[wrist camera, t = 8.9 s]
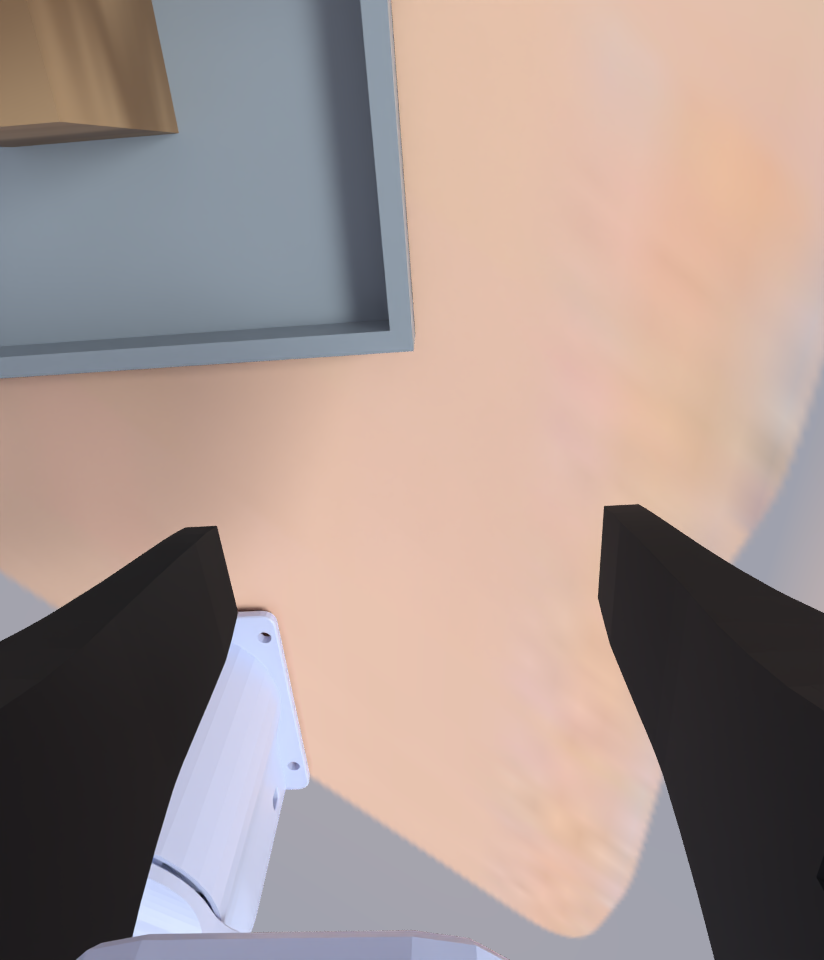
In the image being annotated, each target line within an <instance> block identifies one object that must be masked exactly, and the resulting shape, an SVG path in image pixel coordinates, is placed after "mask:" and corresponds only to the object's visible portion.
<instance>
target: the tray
mask: <svg viewBox="0 0 824 960" xmlns="http://www.w3.org/2000/svg"><path fill="white" fill-rule="evenodd" d="M152 5H153V10H154V15H155V19H156V24H157V29H158V34H159V39H160V44H161V49H162V53H163V58H164V63H165V68H166V73H167V78H168V82H169V87H170V92H171V97H172V102H173V107H174V112H175V116H176V121H177V126H178V131H179V133H175V134H163V135H151V136H140V137H128V138H116V139H104V140H92V141H80V142H68V143H57V144H45V145H33V146H21V147H0V378H13V377H28V376H43V375H59V374H74V373H89V372H104V371H119V370H134V369H149V368H164V367H179V366H195V365H210V364H225V363H240V362H255V361H270V360H285V359H300V358H315V357H331V356H346V355H361V354H376V353H391V352H406V351H414V341H415V324H414V310H413V296H412V282H411V268H410V255H409V241H408V227H407V213H406V200H405V186H404V172H403V158H402V145H401V131H400V117H399V103H398V90H397V76H396V62H395V48H394V35H393V21H392V7H391V0H152Z"/></svg>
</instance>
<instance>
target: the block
mask: <svg viewBox="0 0 824 960" xmlns="http://www.w3.org/2000/svg"><path fill="white" fill-rule="evenodd" d="M175 133H179V131H178V126H177V121H176V116H175V112H174V107H173V102H172V97H171V92H170V87H169V82H168V78H167V73H166V68H165V63H164V58H163V53H162V49H161V44H160V39H159V34H158V29H157V24H156V19H155V15H154V10H153V5H152V0H0V147H21V146H33V145H45V144H57V143H68V142H80V141H92V140H104V139H116V138H128V137H140V136H151V135H163V134H175Z"/></svg>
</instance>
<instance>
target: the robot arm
mask: <svg viewBox="0 0 824 960" xmlns="http://www.w3.org/2000/svg"><path fill="white" fill-rule="evenodd" d="M598 600H599V604H600V608H601V612H602V616H603V620H604V624H605V628H606V631H607V635H608V638H609V642H610V645H611V648H612V650H613V653H614V655H615V658H616V660H617V663H618V665H619V668H620V670H621V672H622V675H623V677H624V680H625V682H626V685H627V687H628V689H629V692H630V694H631V696H632V699H633V701H634V704H635V706H636V708H637V711H638V713H639V716H640V718H641V720H642V723H643V725H644V727H645V730H646V732H647V735H648V737H649V739H650V742H651V744H652V747H653V749H654V752H655V754H656V757H657V760H658V762H659V765H660V768H661V771H662V773H663V776H664V780H665V783H666V786H667V790H668V793H669V796H670V800H671V803H672V806H673V809H674V813H675V816H676V819H677V823H678V826H679V829H680V833H681V836H682V840H683V844H684V847H685V851H686V854H687V858H688V861H689V865H690V868H691V872H692V876H693V879H694V883H695V887H696V890H697V894H698V898H699V901H700V905H701V909H702V913H703V917H704V920H705V924H706V928H707V932H708V936H709V940H710V944H711V947H712V951H713V955H714V959H715V960H824V613H823V612H821V611H818V610H816V609H814V608H812V607H810V606H808V605H806V604H804V603H802V602H799V601H797V600H795V599H793V598H791V597H789V596H787V595H785V594H783V593H781V592H779V591H777V590H775V589H774V588H771V587H770V586H768V585H766V584H764V583H763V582H761V581H759V580H757V579H756V578H754V577H752V576H750V575H749V574H747V573H745V572H743V571H742V570H740V569H738V568H736V567H735V566H733V565H731V564H730V563H728V562H727V561H725V560H723V559H722V558H720V557H718V556H717V555H715V554H714V553H712V552H711V551H709V550H707V549H706V548H704V547H703V546H701V545H700V544H698V543H697V542H695V541H694V540H692V539H691V538H689V537H688V536H686V535H685V534H683V533H682V532H680V531H679V530H677V529H676V528H674V527H673V526H671V525H670V524H668V523H667V522H665V521H664V520H663V519H661V518H660V517H658V516H657V515H655V514H654V513H652V512H650V511H649V510H647V509H646V508H644V507H642V506H640V505H639V504H635V505H616V506H604V516H603V530H602V545H601V560H600V575H599V590H598ZM262 632H265V633H268V634H269V635H270V636H264V635H263V634H261V633H262ZM295 762H296V763H295ZM309 779H310V773H309V768H308V764H307V759H306V754H305V749H304V745H303V740H302V735H301V731H300V726H299V721H298V716H297V712H296V707H295V702H294V697H293V693H292V688H291V683H290V679H289V674H288V669H287V664H286V660H285V655H284V650H283V646H282V641H281V636H280V631H279V627H278V622H277V619H276V617H275V616H274V615H273V614H272V613H270V612H267V611H247V612H238V611H237V607H236V603H235V598H234V594H233V590H232V586H231V582H230V578H229V574H228V570H227V566H226V562H225V558H224V553H223V549H222V545H221V541H220V537H219V533H218V529H217V526H206V527H187V528H184V529H182V530H180V531H178V532H176V533H174V534H173V535H171V536H170V537H168V538H166V539H165V540H163V541H162V542H160V543H159V544H157V545H156V546H154V547H153V548H151V549H150V550H148V551H147V552H145V553H144V554H142V555H141V556H139V557H138V558H136V559H135V560H133V561H132V562H131V563H129V564H128V565H126V566H125V567H123V568H122V569H120V570H119V571H117V572H116V573H114V574H113V575H111V576H110V577H108V578H107V579H105V580H104V581H102V582H101V583H99V584H98V585H96V586H95V587H93V588H91V589H90V590H88V591H87V592H85V593H83V594H82V595H80V596H79V597H77V598H75V599H74V600H72V601H71V602H69V603H67V604H66V605H64V606H63V607H61V608H59V609H58V610H56V611H55V612H53V613H51V614H50V615H48V616H47V617H45V618H43V619H41V620H39V621H38V622H36V623H34V624H32V625H31V626H29V627H27V628H25V629H23V630H21V631H19V632H18V633H16V634H14V635H12V636H10V637H8V638H6V639H4V640H2V641H0V960H509V959H507V958H505V957H504V956H501V955H500V954H498V953H496V952H494V951H493V950H491V949H489V948H487V947H485V946H483V945H481V944H480V943H478V942H476V941H474V940H472V939H470V938H465V937H458V936H451V935H443V934H437V933H429V932H422V931H415V930H396V931H331V932H330V931H327V932H326V931H325V932H257V933H256V932H254V933H251V931H252V928H253V925H254V922H255V919H256V915H257V911H258V907H259V902H260V898H261V893H262V889H263V885H264V881H265V876H266V872H267V868H268V863H269V859H270V855H271V850H272V846H273V842H274V837H275V833H276V829H277V824H278V820H279V816H280V811H281V807H282V803H283V797H284V794H285V790H286V789H302V788H304V787H306V786H307V785H308V784H309Z"/></svg>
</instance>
